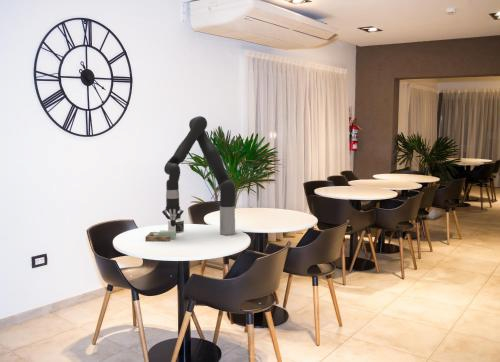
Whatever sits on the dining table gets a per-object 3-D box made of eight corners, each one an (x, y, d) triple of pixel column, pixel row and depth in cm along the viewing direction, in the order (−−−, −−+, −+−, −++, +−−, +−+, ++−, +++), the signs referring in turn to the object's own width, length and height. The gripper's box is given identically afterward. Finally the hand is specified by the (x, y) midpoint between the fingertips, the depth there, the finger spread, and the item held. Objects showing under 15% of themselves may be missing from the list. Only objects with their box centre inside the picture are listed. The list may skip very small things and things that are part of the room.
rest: (173, 236, 285) (173, 232, 285) (169, 241, 272) (169, 237, 272) (150, 236, 286) (150, 232, 285) (145, 241, 273) (145, 237, 272)
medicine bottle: (175, 233, 294) (175, 214, 292) (168, 231, 298) (167, 212, 297) (184, 231, 299) (183, 212, 298) (176, 229, 304) (175, 211, 302)
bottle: (175, 230, 281) (153, 230, 281) (174, 232, 276) (151, 232, 277) (175, 238, 281) (153, 237, 282) (174, 239, 277) (151, 239, 277)
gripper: (184, 196, 280) (185, 225, 282) (162, 196, 280) (163, 224, 282) (182, 198, 272) (183, 227, 274) (160, 198, 272) (160, 227, 274)
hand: (173, 226), depth 278 cm, fingers closed
